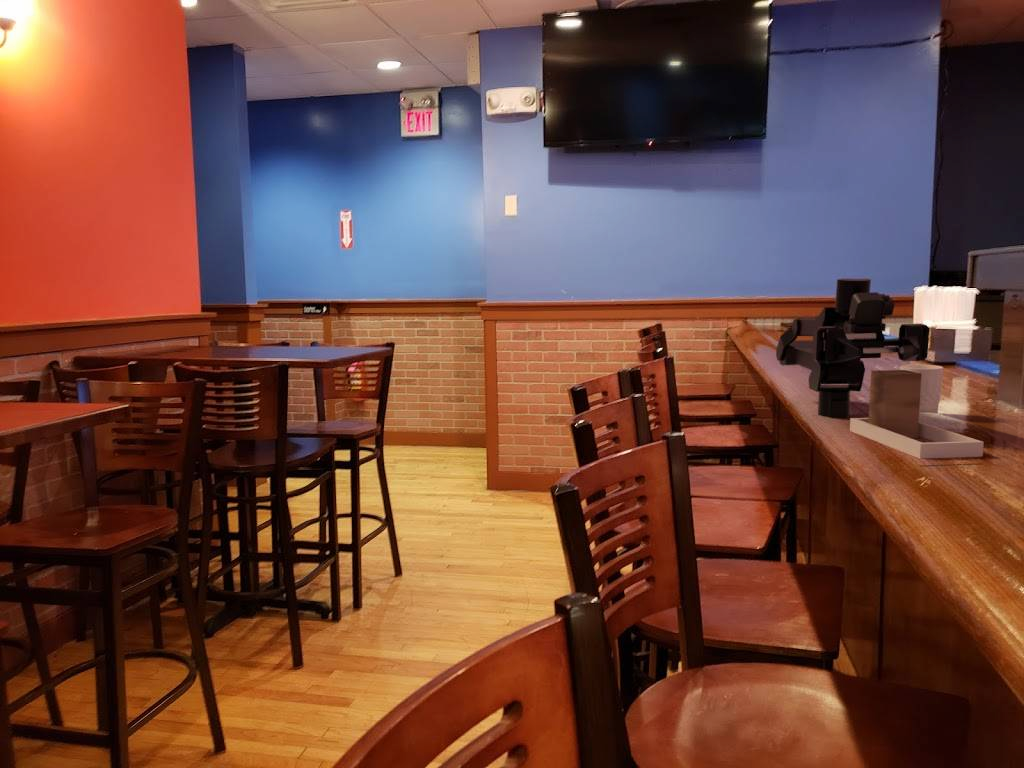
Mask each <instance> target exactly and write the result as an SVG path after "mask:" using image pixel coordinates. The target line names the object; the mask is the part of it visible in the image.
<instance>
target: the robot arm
mask: <svg viewBox="0 0 1024 768" xmlns="http://www.w3.org/2000/svg"><path fill="white" fill-rule="evenodd" d="M871 282H872V280H871V278H839V279H838V278H837V279H836V290H835V291H836V292H835V304H834V306H824V307H823V309H822V310H821V312H820V313H819V315H817V316H815V317H797V318H793V320H792V323H791V326H790V327H789V328H788V329H787V330H786V331H784V332H783V333H782V334H781V335H780V336H779V340H778V343H777V345H776V350H775V352H776V353H775V354H776V355H775V357H776V359H777V361H779V362H778V363H779V364H780V365H781V366H782V367H783V366H786V367H787V366H789V367H790V366H791V367H792V366H793V367H794V366H800V367H803V368H805V369H807V370H810V371H811V372H810V374H809V376H808V388H809V389H810V390H812V391H814V392H817V393H818V400H817V401H818V402H817V403H818V404H817V416H821V417H823V418H824V417H825V418H830V419H847V418H848V417H849V416H850V401H851V392H861V390H862V386H863V382H864V377H865V373H866V368H865V363H864V361H863V360H861V359H881V358H882V357H881V356H882V354H885V353H886V354H890V353H897V356H898V359H899V360H900V361H902V362H918V361H922V362H923V361H925V360H926V359H927V358H928V354H929V353H928V352H929V341H930V339H929V338H930V327H929V326H928V325H927V324H924V323H902V324H901V325H899V326H900V327H898V328H899V329H898V338H885V335H884V333H883V332H886V327H887V326H886V325H887V324H886V323H884V322H883V320H886V317H890V316H891V317H892V316H893V315H894V309H895V305H896V302H895V301H894V299H893V298H892V297H890V295H888V294H887V295H886V294H885V293H879V292H873V291H872V292H871ZM798 337H812V339H810V340H809V339H805V340H804V339H802V340H798ZM812 416H813V417H814V414H812Z"/></svg>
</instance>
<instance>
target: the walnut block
mask: <svg viewBox="0 0 1024 768" xmlns="http://www.w3.org/2000/svg"><path fill="white" fill-rule="evenodd" d="M921 375H922V374H921V373H916V372H912V371H907V370H900V369H892V370H891V369H890V370H889V369H888V370H886V369H885V370H871V371H870V385H869V386H870V388H869V407H868V418H869V422H868V423H869V424H872V425H875V426H878V427H880V428H883V429H886V430H889V431H892V432H894V433H897V434H900V435H903V436H905V437H908V438H911V439H918V437H919V436H918V424H919V422H920V421H919V420H920V412H919V407H920V391H921Z"/></svg>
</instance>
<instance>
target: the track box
mask: <svg viewBox="0 0 1024 768" xmlns="http://www.w3.org/2000/svg"><path fill="white" fill-rule="evenodd" d="M868 422H869V417H854V418H853V417H851V418H849V432H852V433H855V434H857V435H860V436H862V437H864V438H866V439H870V440H872V441H875V442H877V443H880V444H882V445H885V446H887V447H890V448H892V449H895V450H898V451H900V452H902V453H905V454H908V455H911V456H913V457H915V458H918V459H920V460H921V459H922V460H923V459H943V458H945V459H946V458H947V459H948V458H949V459H950V458H975V457H976V458H977V457H978V458H979V457H980V458H981V457H983V456H984V442H985V441H982V440H979V439H975V438H972V437H969V436H966V435H963V434H960V433H958V432H957V433H956V432H953V431H950V430H947V429H943V428H941V427H938V426H934V425H932V424H929V423H925V422H922V421H919V424H918V437H920V438H924V439H926V440H930V441H932V442H922V441H919V440H916V439H915V438H908V437H905V436H903V435H900V434H897V433H894V432H892V431H889V430H886V429H883V428H880V427H878V426H875V425H872V424H869V423H868ZM972 465H973V466H974V465H975V466H977V465H983V463H979V462H978V463H959V464H958V463H957V464H956V463H954V464H953V463H952V464H928V465H926V464H925V465H920V466H921V467H945V466H947V467H948V466H950V467H951V466H972ZM921 467H920V468H921Z"/></svg>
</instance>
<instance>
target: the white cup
mask: <svg viewBox="0 0 1024 768" xmlns="http://www.w3.org/2000/svg"><path fill="white" fill-rule="evenodd" d="M899 370H907V371H912V372H916V373H921V374H922V375H921V391H920V407H919V413H935V414H938V413H939V404H940V402H941V401H940V400H941V393H942V387H943V378H944V377H943V376H944V367H943V366H941V365H934V364H921V363H920V364H919V363H918V364H916V363H915V364H914V363H912V364H911V363H910V364H900V365H899Z"/></svg>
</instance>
